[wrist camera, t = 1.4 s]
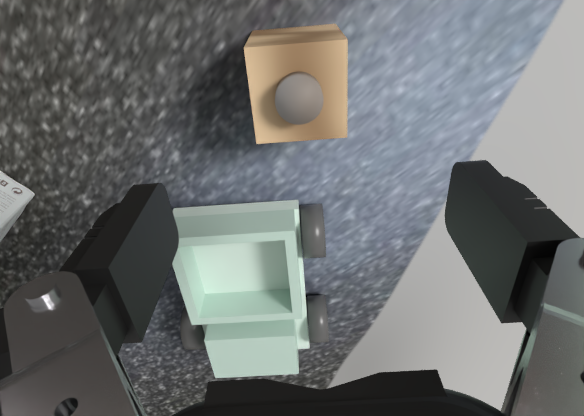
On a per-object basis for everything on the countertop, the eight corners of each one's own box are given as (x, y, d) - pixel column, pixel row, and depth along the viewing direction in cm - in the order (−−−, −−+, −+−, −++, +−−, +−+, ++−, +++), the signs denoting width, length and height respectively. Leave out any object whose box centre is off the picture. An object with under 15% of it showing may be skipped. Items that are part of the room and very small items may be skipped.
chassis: (198, 328, 37) (184, 383, 32) (158, 197, 29) (131, 243, 24) (325, 320, 37) (331, 375, 32) (320, 185, 29) (326, 231, 24)
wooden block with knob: (262, 111, 26) (255, 151, 20) (252, 30, 23) (241, 51, 18) (336, 105, 26) (349, 144, 20) (335, 23, 23) (350, 42, 17)
